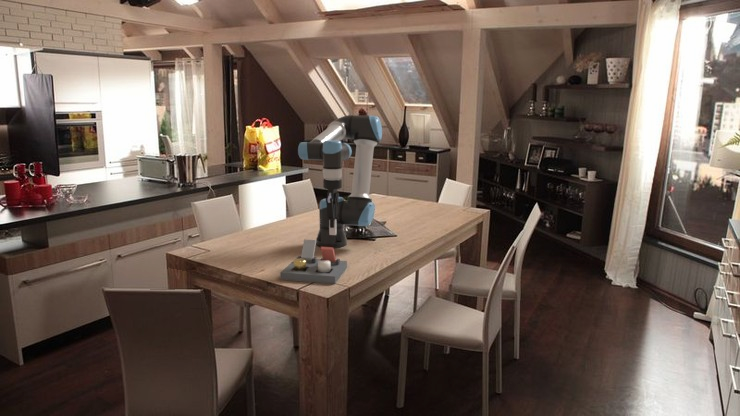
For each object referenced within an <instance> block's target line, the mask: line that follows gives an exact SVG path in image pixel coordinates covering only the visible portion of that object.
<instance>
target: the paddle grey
mask: <svg viewBox="0 0 740 416" xmlns="http://www.w3.org/2000/svg"><path fill="white" fill-rule="evenodd" d="M316 247H317V245H316V239H304V240H303V245H302V251H301V254H300V256H301V258H302V259H306V262H313V258H314V257H315V250H316Z"/></svg>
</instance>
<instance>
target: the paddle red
mask: <svg viewBox="0 0 740 416" xmlns="http://www.w3.org/2000/svg"><path fill="white" fill-rule="evenodd" d="M320 251H321V256H322V258H323V260H328V261H330V262H331V263H333V264H336V260H337V259H336V258H337V257H336V253H335V248H333V247H320Z"/></svg>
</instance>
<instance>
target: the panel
mask: <svg viewBox="0 0 740 416" xmlns="http://www.w3.org/2000/svg"><path fill="white" fill-rule="evenodd" d="M299 258H301V255H298V257H295V259H299ZM321 260H323V257H321V258H317V257H316V256H314V258H313V262H306V270H302V271H297V270H294V260H292V261H291V262H290V263H288V265H287V266H286V267H285V268H284V269H282V270H281V271H280V281H294V282H306V283H307V282H308V283H315V284H316V283H319V284H333V285H335V284H337V282H339V279H340V278H341V277H342V276H343V274H344V273H345V271H346V270H347V268H348V260H340V258H337V259H336V264H333V263H331V271H330V272H325V273H323V272H319V271H318V261H321Z"/></svg>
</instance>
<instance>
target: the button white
mask: <svg viewBox="0 0 740 416" xmlns="http://www.w3.org/2000/svg"><path fill="white" fill-rule="evenodd" d="M318 271H319V272H323V273H325V272H330V271H331V262H330V261H328V260H321V261H318Z"/></svg>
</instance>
